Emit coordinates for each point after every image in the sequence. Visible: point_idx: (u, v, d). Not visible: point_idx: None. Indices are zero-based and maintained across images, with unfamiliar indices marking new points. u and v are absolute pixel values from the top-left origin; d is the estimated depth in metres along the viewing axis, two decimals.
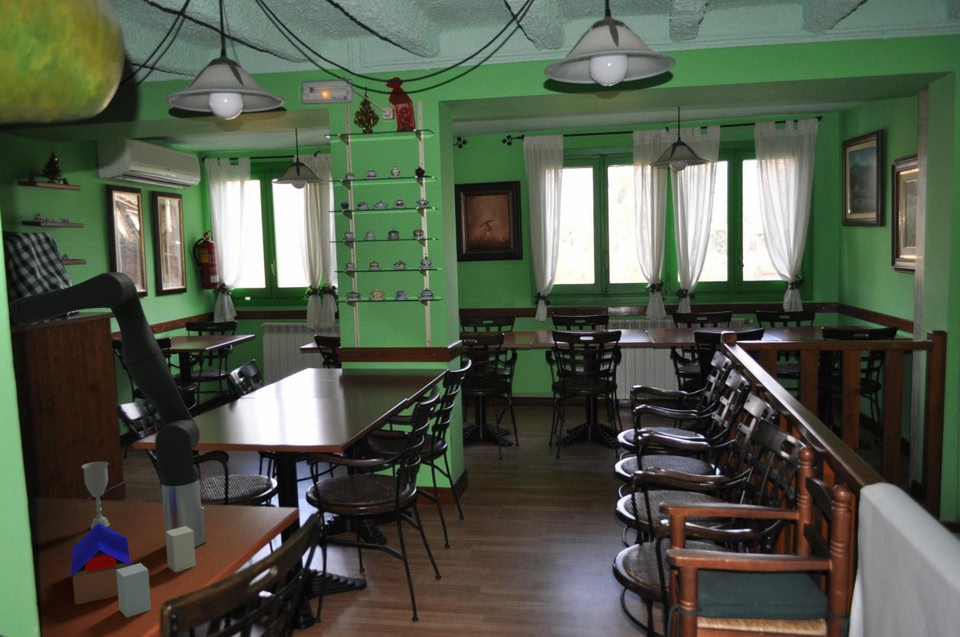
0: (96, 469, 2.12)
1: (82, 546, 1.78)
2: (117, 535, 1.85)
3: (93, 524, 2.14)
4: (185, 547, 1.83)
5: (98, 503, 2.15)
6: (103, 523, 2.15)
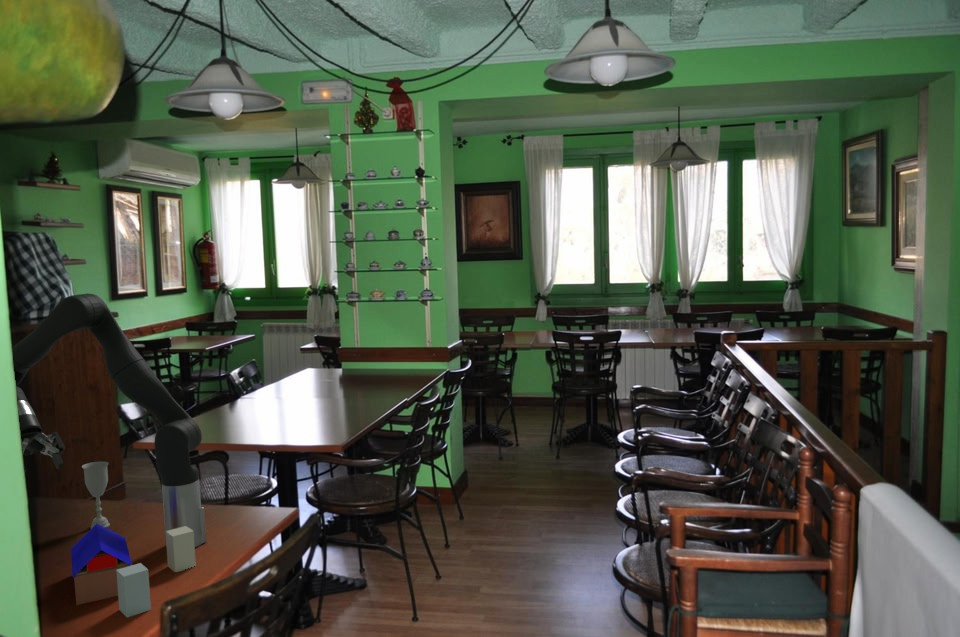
0: (96, 469, 2.12)
1: (81, 547, 1.78)
2: (116, 535, 1.85)
3: (93, 524, 2.14)
4: (185, 547, 1.83)
5: (98, 503, 2.15)
6: (103, 523, 2.15)
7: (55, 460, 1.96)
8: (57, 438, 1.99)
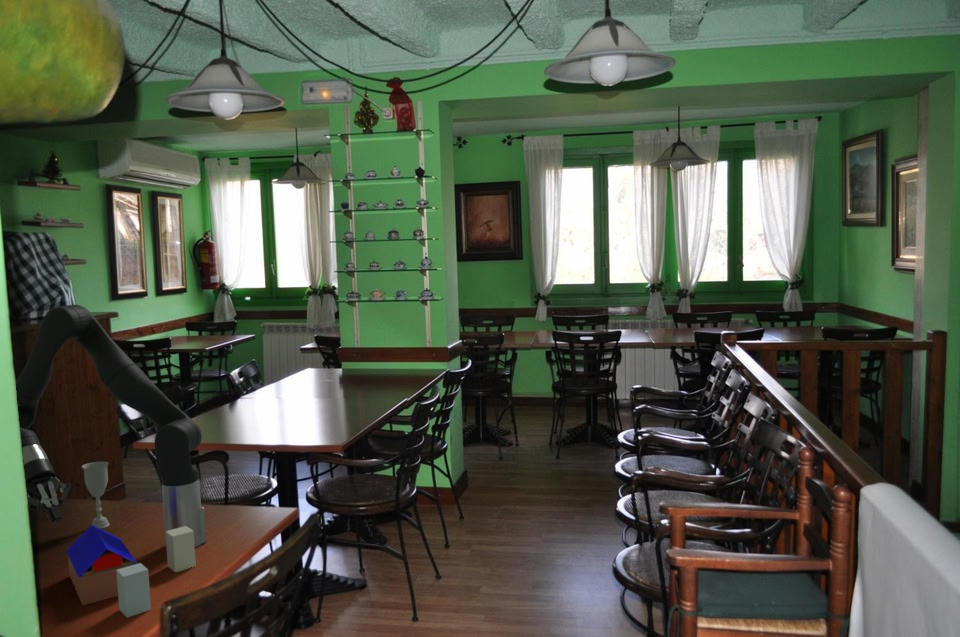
0: (96, 469, 2.12)
1: (79, 548, 1.77)
2: (112, 536, 1.85)
3: (93, 524, 2.14)
4: (185, 547, 1.83)
5: (98, 503, 2.15)
6: (103, 523, 2.15)
7: None
8: (66, 489, 1.95)
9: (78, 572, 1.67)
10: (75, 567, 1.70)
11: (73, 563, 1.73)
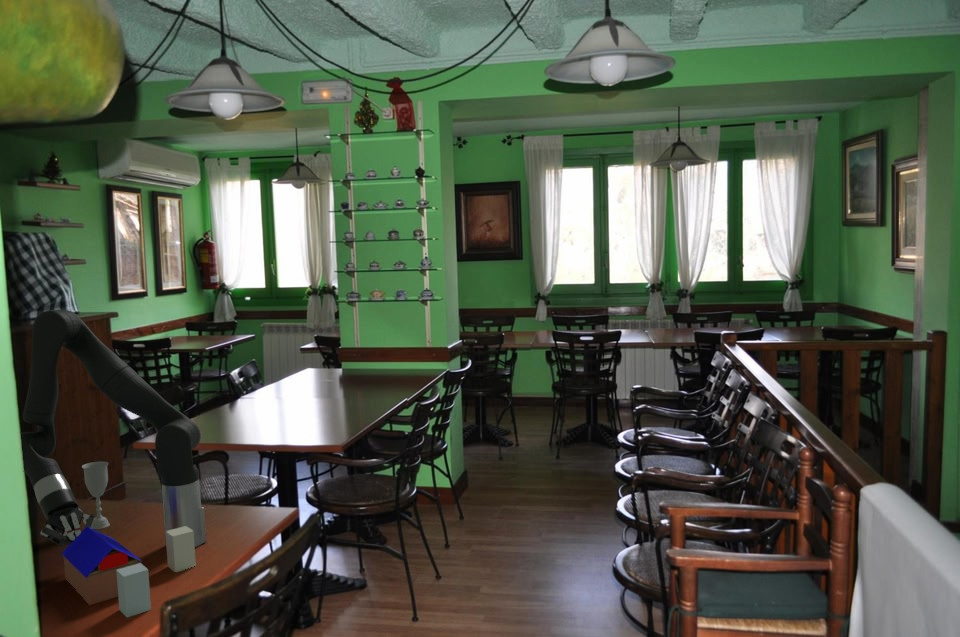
0: (96, 469, 2.12)
1: (78, 549, 1.76)
2: (107, 537, 1.84)
3: (93, 524, 2.14)
4: (185, 547, 1.83)
5: (98, 503, 2.15)
6: (103, 523, 2.15)
7: None
8: (89, 521, 1.88)
9: (83, 572, 1.67)
10: (78, 568, 1.70)
11: (74, 564, 1.72)
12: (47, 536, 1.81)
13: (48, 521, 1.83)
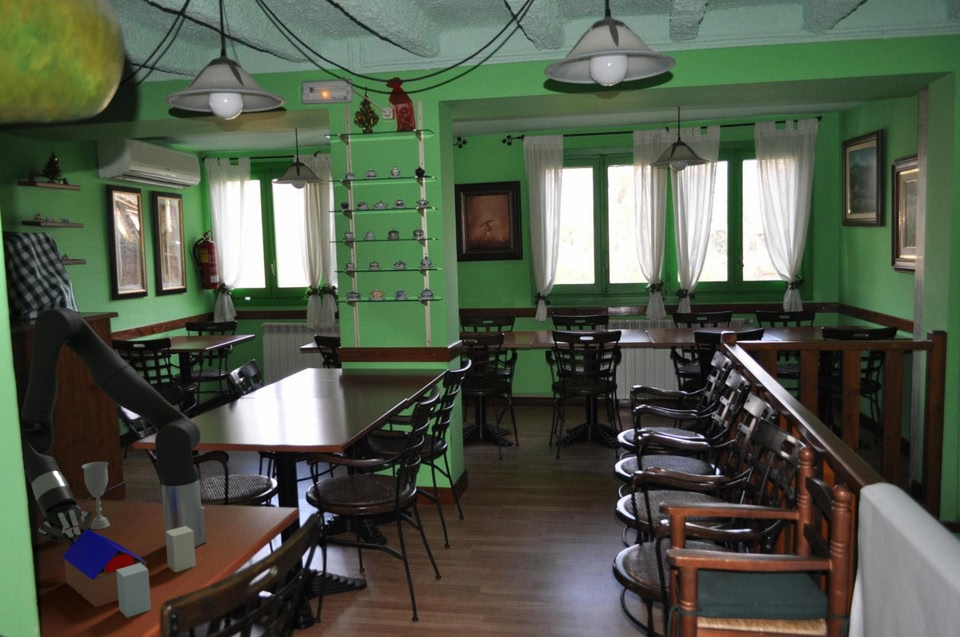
0: (96, 469, 2.12)
1: (80, 552, 1.75)
2: (108, 539, 1.83)
3: (93, 524, 2.14)
4: (185, 547, 1.83)
5: (98, 503, 2.15)
6: (103, 523, 2.15)
7: None
8: (87, 518, 1.88)
9: (89, 575, 1.66)
10: (83, 570, 1.68)
11: (78, 567, 1.70)
12: (45, 533, 1.81)
13: (46, 518, 1.83)
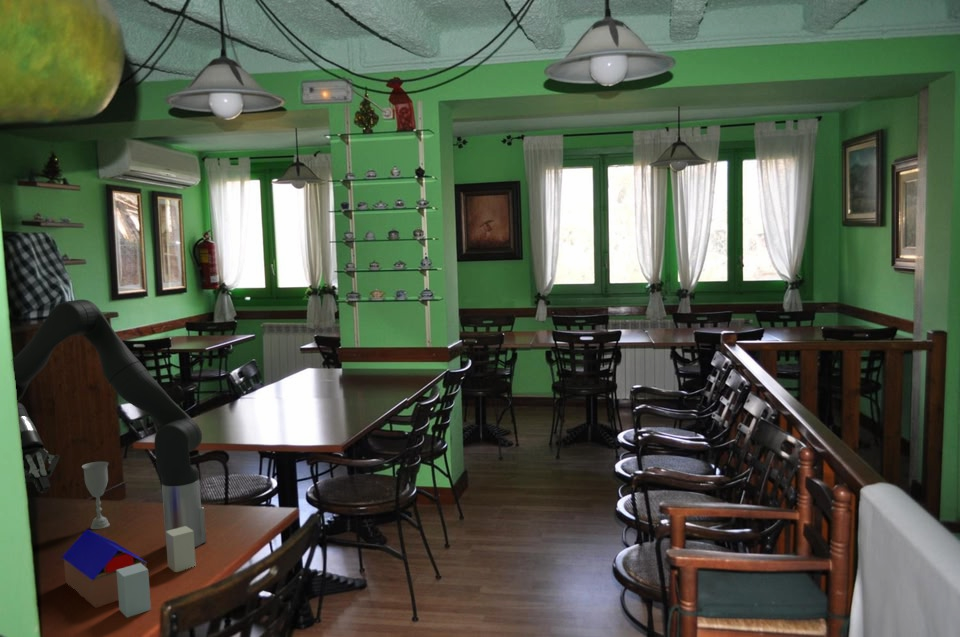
0: (96, 469, 2.12)
1: (80, 552, 1.74)
2: (108, 539, 1.83)
3: (93, 524, 2.14)
4: (185, 547, 1.83)
5: (98, 503, 2.15)
6: (103, 523, 2.15)
7: None
8: (54, 460, 1.97)
9: (89, 575, 1.65)
10: (82, 571, 1.68)
11: (78, 567, 1.70)
12: None
13: None
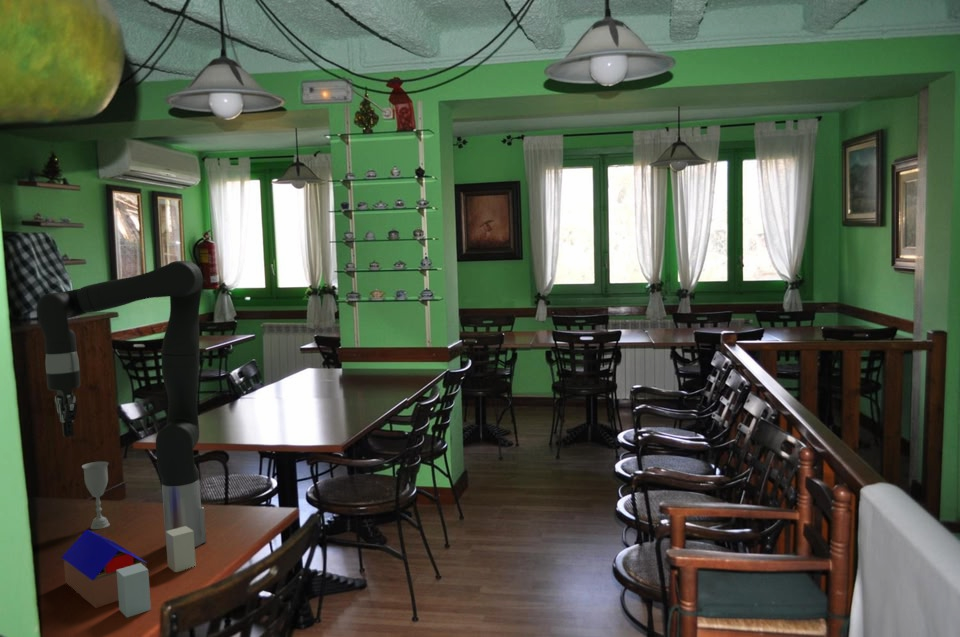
0: (96, 469, 2.12)
1: (80, 553, 1.74)
2: (108, 539, 1.82)
3: (93, 524, 2.14)
4: (185, 547, 1.83)
5: (98, 503, 2.15)
6: (103, 523, 2.15)
7: None
8: None
9: (89, 575, 1.65)
10: (82, 571, 1.68)
11: (78, 568, 1.70)
12: (70, 410, 1.90)
13: (72, 396, 1.91)
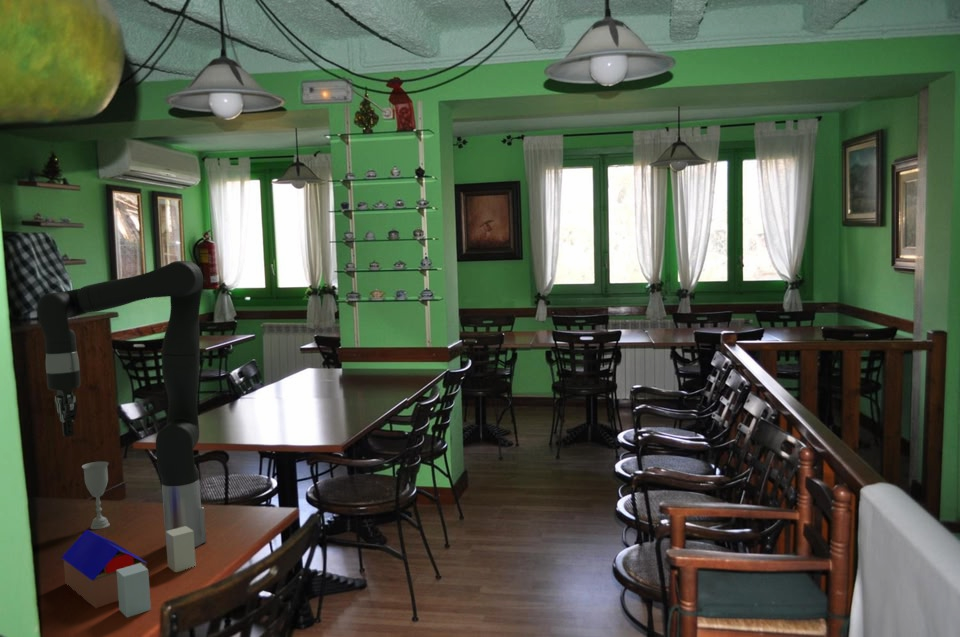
0: (96, 469, 2.12)
1: (80, 553, 1.74)
2: None
3: (93, 524, 2.14)
4: (185, 547, 1.83)
5: (98, 503, 2.15)
6: (103, 523, 2.15)
7: None
8: None
9: (89, 575, 1.65)
10: (82, 571, 1.68)
11: (78, 568, 1.70)
12: (70, 410, 1.90)
13: (72, 396, 1.91)
